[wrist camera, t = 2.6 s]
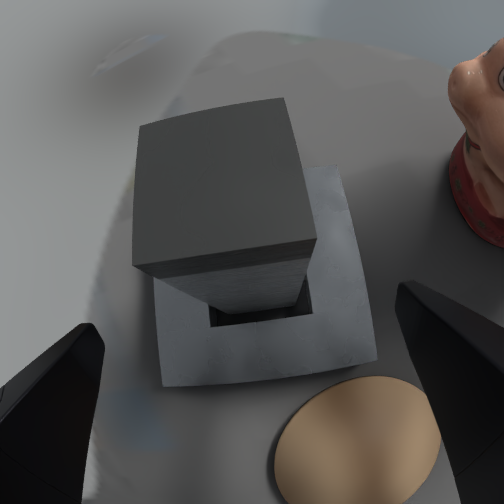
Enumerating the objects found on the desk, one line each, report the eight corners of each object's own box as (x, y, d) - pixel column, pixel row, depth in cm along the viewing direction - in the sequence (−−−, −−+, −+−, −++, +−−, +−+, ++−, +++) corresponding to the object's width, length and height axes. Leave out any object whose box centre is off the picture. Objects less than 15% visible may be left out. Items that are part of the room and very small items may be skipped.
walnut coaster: (323, 540, 13) (324, 545, 12) (241, 435, 16) (239, 438, 15) (456, 456, 13) (460, 458, 13) (393, 340, 17) (396, 340, 16)
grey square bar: (295, 305, 18) (317, 238, 6) (229, 314, 18) (132, 265, 6) (285, 242, 19) (283, 97, 7) (223, 252, 19) (139, 125, 7)
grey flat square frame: (368, 358, 17) (377, 360, 15) (174, 382, 17) (162, 386, 15) (332, 180, 20) (336, 164, 18) (163, 206, 21) (152, 194, 19)
